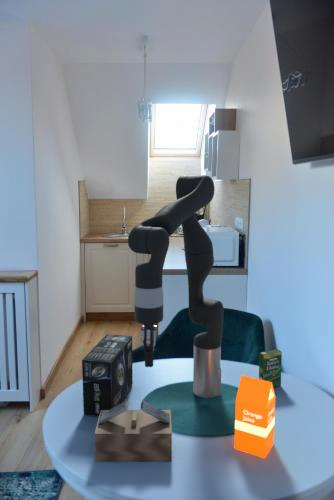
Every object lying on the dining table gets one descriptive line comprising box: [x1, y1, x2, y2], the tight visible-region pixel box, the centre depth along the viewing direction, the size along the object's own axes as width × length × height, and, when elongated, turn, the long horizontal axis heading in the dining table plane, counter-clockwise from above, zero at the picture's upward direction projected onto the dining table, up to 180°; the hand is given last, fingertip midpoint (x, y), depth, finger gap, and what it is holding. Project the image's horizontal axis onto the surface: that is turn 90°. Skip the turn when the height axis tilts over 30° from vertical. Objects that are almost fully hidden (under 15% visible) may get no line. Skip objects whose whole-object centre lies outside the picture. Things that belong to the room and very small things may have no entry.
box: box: [81, 333, 134, 417], centre depth 148 cm, size 23×10×19 cm, turn 168°
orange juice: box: [233, 374, 276, 459], centre depth 121 cm, size 8×9×20 cm
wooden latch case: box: [94, 409, 173, 463], centre depth 121 cm, size 20×12×10 cm, turn 91°
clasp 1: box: [97, 400, 129, 425], centre depth 120 cm, size 8×4×1 cm, turn 89°
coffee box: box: [258, 348, 283, 388], centre depth 158 cm, size 8×3×13 cm, turn 112°
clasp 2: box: [140, 400, 170, 425], centre depth 120 cm, size 8×4×1 cm, turn 92°
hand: (149, 365), depth 118 cm, fingers closed
